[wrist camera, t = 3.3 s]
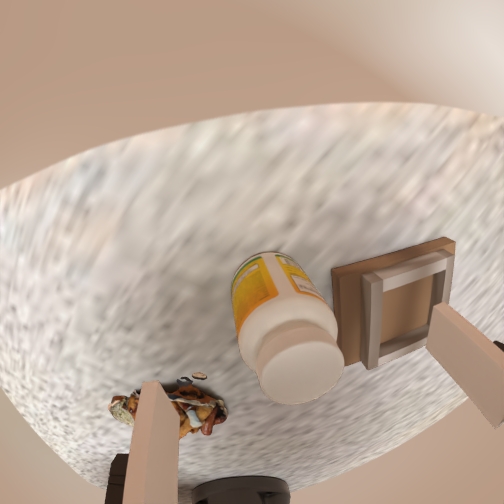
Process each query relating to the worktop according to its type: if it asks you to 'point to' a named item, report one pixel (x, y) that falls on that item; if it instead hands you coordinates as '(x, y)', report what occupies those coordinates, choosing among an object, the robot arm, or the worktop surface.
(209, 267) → the worktop surface
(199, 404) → the brown lumpy food piece
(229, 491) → the robot arm
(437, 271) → the socket board
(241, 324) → the supplement bottle
